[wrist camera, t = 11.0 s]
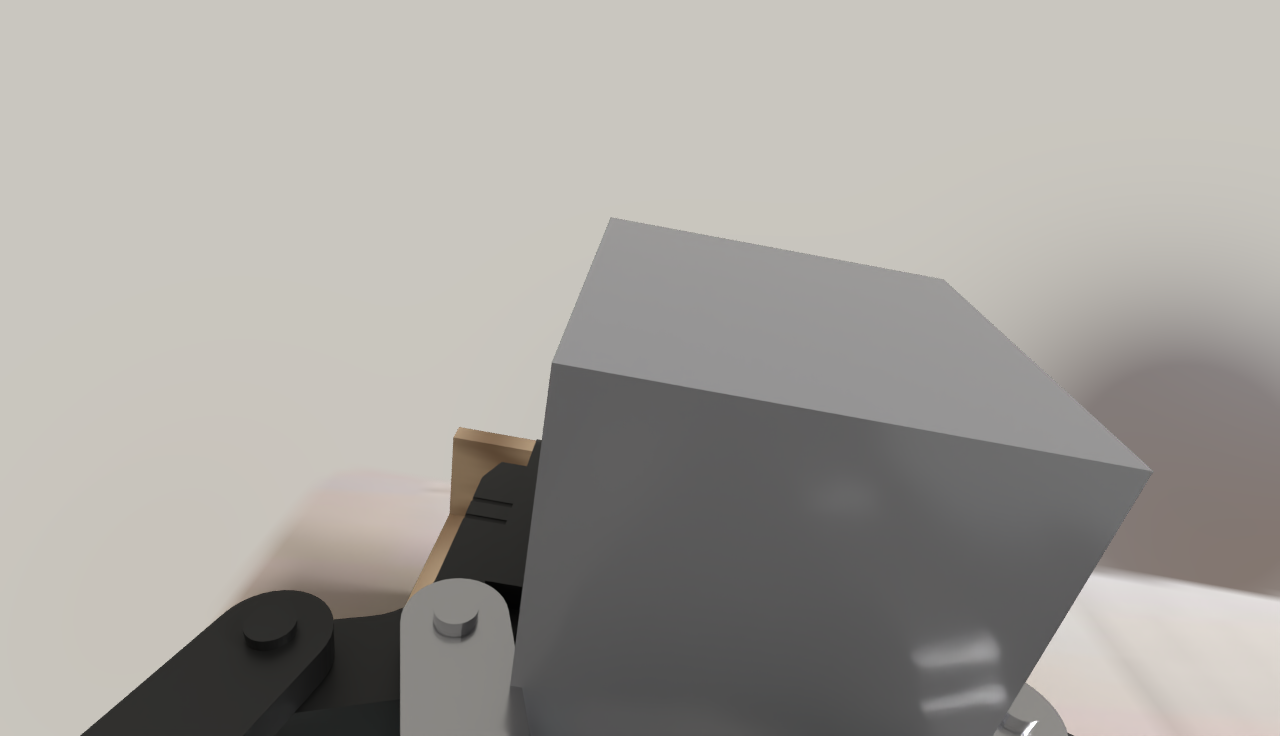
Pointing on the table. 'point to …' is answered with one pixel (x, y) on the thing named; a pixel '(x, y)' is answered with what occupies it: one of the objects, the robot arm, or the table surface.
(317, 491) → the table surface
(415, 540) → the table surface
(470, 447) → the trapdoor frame
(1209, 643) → the table surface
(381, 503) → the table surface
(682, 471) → the granite stone
